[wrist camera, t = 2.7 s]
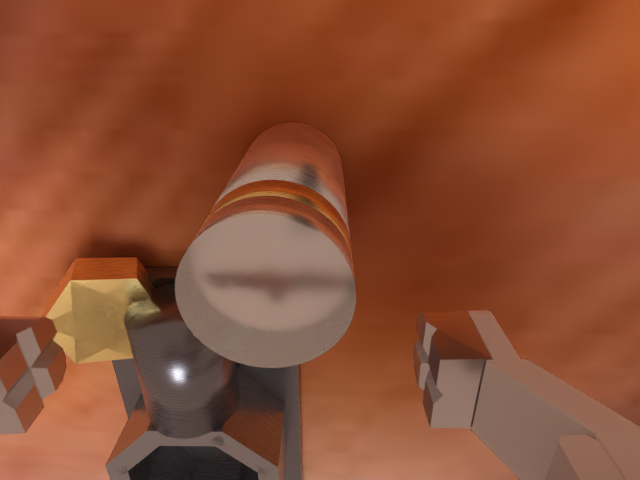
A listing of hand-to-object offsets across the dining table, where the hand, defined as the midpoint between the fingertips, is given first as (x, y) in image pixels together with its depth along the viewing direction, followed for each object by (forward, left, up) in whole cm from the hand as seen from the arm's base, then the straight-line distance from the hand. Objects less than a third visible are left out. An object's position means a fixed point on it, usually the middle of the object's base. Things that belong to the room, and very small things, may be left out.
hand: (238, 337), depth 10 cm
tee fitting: (+4, +15, -11) cm, 19 cm away
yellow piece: (+9, +6, -10) cm, 14 cm away
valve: (-1, 0, -11) cm, 11 cm away
